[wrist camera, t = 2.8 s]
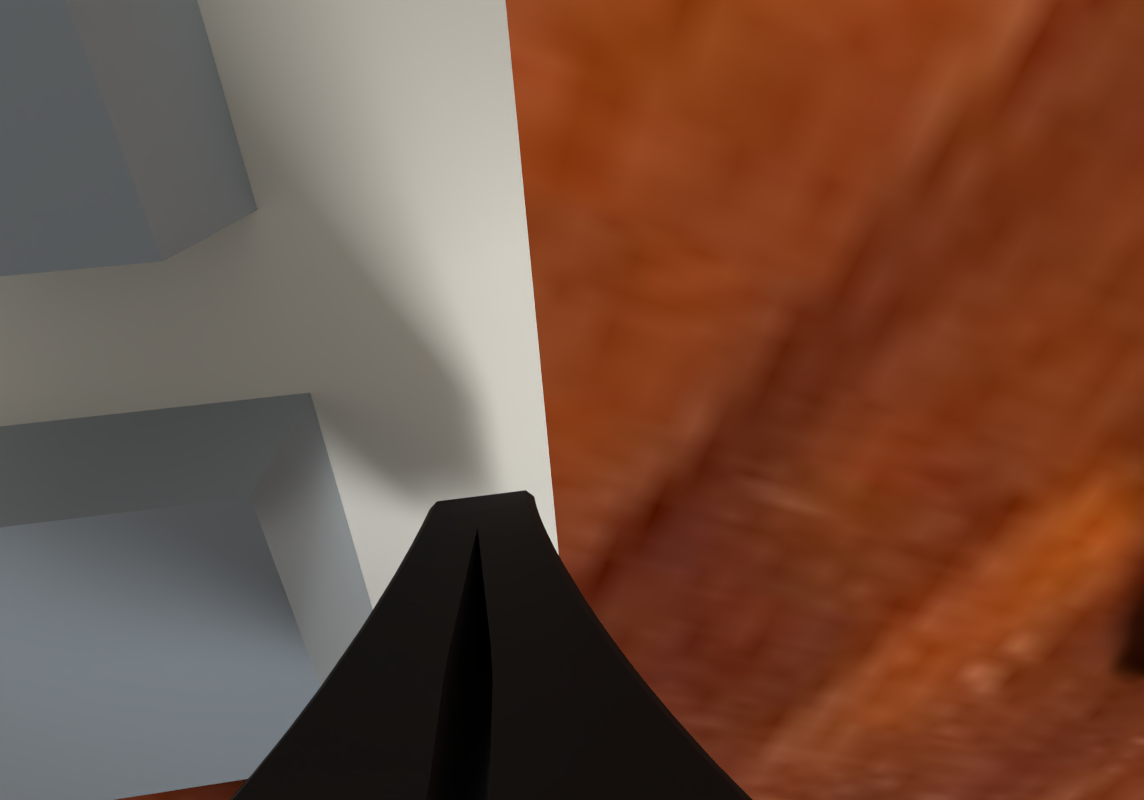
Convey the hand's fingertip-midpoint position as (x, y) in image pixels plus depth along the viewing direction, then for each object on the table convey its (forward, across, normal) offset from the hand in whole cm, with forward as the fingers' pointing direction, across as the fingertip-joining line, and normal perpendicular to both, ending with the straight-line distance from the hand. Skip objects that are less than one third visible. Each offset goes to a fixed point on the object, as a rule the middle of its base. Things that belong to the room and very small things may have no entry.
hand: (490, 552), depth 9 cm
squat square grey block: (+1, +4, 0) cm, 5 cm away
